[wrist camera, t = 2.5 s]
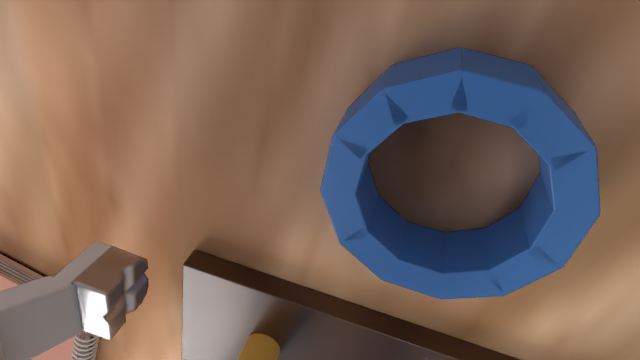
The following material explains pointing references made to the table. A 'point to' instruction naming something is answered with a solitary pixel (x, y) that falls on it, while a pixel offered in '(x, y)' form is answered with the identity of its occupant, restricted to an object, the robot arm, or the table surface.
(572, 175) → the tape roll
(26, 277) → the notebook
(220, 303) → the peg rack
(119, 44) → the table surface
